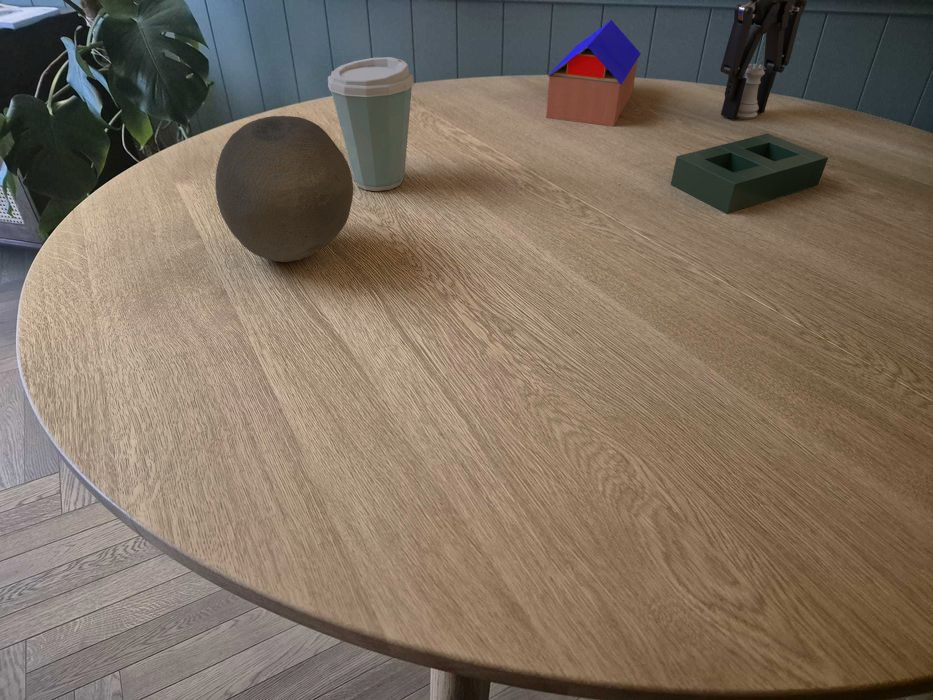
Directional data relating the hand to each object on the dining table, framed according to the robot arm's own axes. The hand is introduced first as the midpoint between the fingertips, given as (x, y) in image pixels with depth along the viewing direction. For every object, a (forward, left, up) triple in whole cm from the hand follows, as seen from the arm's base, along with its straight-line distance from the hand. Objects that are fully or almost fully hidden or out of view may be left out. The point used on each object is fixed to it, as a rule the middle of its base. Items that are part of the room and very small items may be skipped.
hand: (742, 113), depth 112 cm
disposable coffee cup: (+5, +65, 0) cm, 65 cm away
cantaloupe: (-9, +81, 0) cm, 82 cm away
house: (+17, +19, 0) cm, 25 cm away
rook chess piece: (0, 0, 0) cm, 1 cm away
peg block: (-20, +22, 0) cm, 30 cm away
